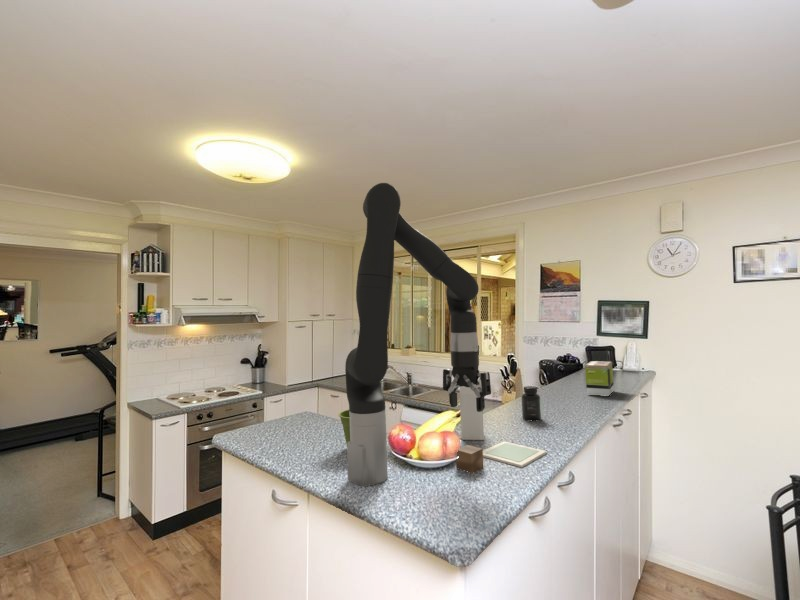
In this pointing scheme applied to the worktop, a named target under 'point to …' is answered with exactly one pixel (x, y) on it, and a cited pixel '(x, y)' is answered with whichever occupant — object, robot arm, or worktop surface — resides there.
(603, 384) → the tea box
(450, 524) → the worktop surface
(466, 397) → the milk carton
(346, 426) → the plant pot
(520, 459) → the coaster
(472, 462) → the walnut block
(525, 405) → the supplement bottle
